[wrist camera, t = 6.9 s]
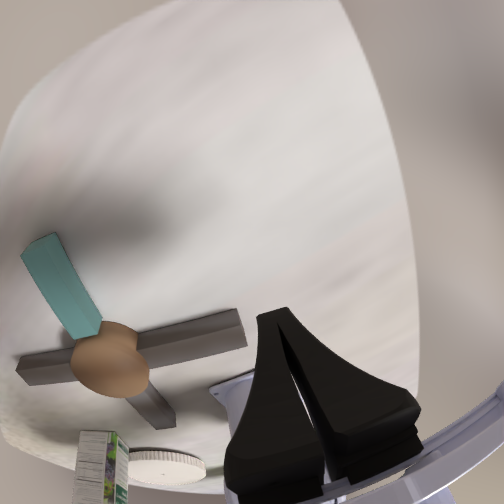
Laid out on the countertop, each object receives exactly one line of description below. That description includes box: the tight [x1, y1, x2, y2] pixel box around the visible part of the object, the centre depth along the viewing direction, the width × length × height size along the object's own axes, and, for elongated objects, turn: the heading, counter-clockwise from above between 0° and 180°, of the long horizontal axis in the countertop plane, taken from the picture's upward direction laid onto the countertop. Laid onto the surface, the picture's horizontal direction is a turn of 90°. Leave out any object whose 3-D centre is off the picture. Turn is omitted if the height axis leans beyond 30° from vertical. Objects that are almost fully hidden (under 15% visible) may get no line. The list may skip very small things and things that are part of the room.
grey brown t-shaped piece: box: [15, 309, 248, 430], centre depth 25 cm, size 16×24×3 cm, turn 102°
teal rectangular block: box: [20, 233, 103, 340], centre depth 19 cm, size 8×2×2 cm, turn 13°
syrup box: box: [73, 431, 129, 504], centre depth 26 cm, size 6×6×14 cm
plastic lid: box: [128, 451, 206, 485], centre depth 37 cm, size 14×14×2 cm
